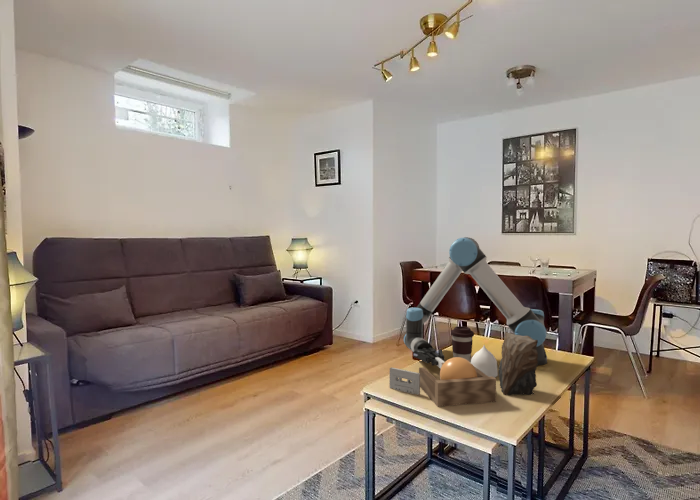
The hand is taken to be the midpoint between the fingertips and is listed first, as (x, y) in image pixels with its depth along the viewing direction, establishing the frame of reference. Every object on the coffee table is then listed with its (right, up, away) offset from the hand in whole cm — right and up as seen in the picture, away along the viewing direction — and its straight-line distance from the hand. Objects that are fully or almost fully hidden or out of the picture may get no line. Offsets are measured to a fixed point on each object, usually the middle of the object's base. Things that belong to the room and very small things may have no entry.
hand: (443, 366), depth 160 cm
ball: (+3, -1, -10) cm, 11 cm away
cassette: (-16, -7, -7) cm, 19 cm away
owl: (+24, -7, -7) cm, 26 cm away
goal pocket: (+2, -7, -10) cm, 12 cm away
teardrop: (+19, -6, +11) cm, 22 cm away
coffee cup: (+14, -5, +26) cm, 30 cm away
